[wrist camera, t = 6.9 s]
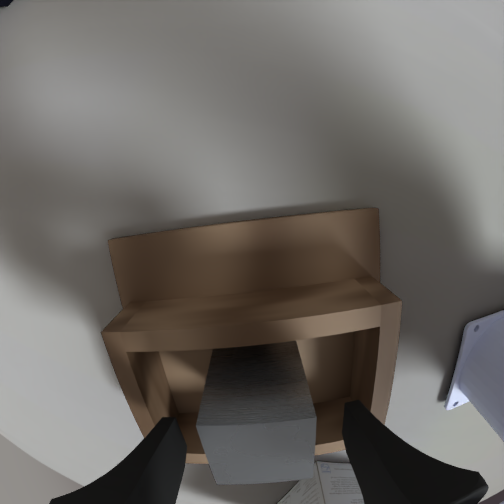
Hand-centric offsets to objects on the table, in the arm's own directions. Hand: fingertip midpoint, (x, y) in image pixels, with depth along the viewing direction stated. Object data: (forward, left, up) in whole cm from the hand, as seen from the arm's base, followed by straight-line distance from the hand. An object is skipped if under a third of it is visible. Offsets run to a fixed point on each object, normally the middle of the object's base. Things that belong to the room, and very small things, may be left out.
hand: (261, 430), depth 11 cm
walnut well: (0, 0, -6) cm, 6 cm away
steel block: (0, 0, -5) cm, 5 cm away
